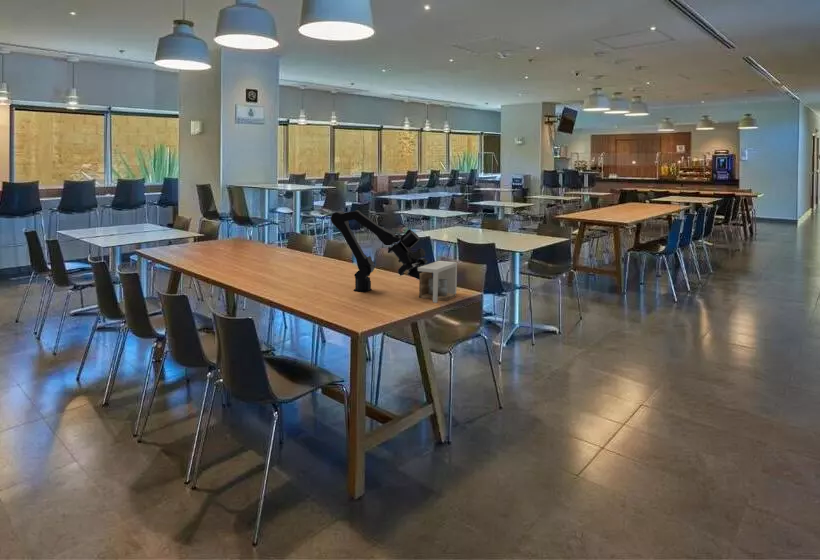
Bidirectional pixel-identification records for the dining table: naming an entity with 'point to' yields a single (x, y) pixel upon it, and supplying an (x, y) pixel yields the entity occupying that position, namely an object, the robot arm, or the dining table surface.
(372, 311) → the dining table surface
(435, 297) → the counter
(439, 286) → the caddy
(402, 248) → the robot arm
